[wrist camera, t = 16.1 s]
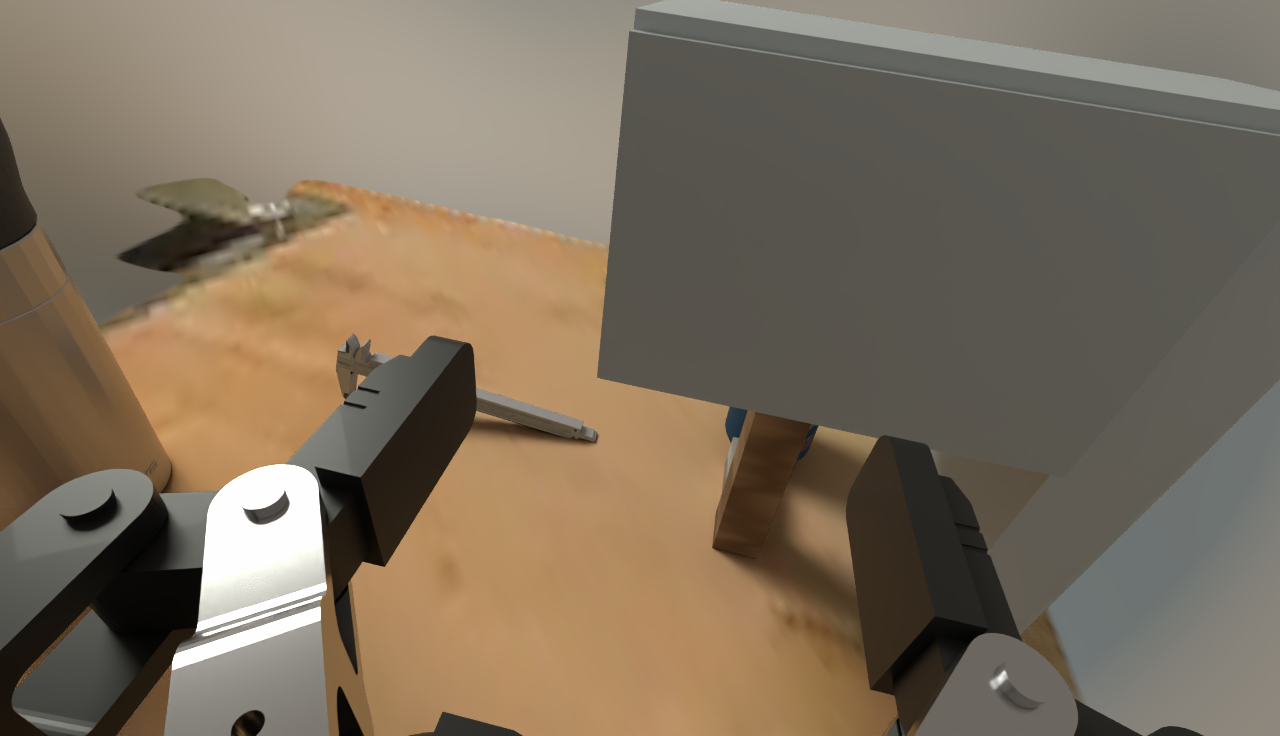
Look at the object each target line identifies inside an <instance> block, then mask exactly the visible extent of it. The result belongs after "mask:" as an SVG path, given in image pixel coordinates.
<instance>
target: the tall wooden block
mask: <svg viewBox="0 0 1280 736" xmlns="http://www.w3.org/2000/svg"><path fill="white" fill-rule="evenodd" d="M810 426H811V425H810V423H805V422H800V421H796V420H791V419H786V418H782V417H777V416H772V415H768V414H763V413H758V412H754V411H749V410H748V411H747V415H746V418H745V421H744V424H743V427H742V431H741V434H740V437H739V438H736V437H733V439H732V443H731V446H730V449H729V453H728V456H727V459H726V463H725V469H724V479H723V489H722V495H721V498H720V502H719V505H718V508H717V511H716V517H715V527H714V536H713V546H712V548H716V549H720V550H724V551H729V552H733V553H737V554H741V555H745V556H750V557H754V558H757V556H758V554H759V551H760V549H761V546H762V544H763V541H764V539H765V536H766V534H767V532H768V529H769V527H770V524H771V522H772V519H773V517H774V514H775V512H776V509H777V507H778V505H779V502H780V500H781V497H782V495H783V492H784V490H785V487H786V485H787V482H788V480H789V478H790V475H791V473H792V470H793V468H794V465H795V463H796V460H797V458H798V455H799V453H800V451H801V448H802V446H803V443H804V441H805V438H806V436H807V433H808V431H809V428H810Z"/></svg>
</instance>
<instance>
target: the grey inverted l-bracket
mask: <svg viewBox="0 0 1280 736" xmlns="http://www.w3.org/2000/svg"><path fill="white" fill-rule="evenodd" d="M612 213H613V214H612V223H611V234H610V245H609V255H608V266H607V277H606V287H605V298H604V309H603V320H602V330H601V341H600V352H599V362H598V373H597V377H598V378H600V379H605V380H610V381H614V382H619V383H624V384H628V385H633V386H638V387H642V388H647V389H652V390H656V391H661V392H665V393H670V394H675V395H679V396H684V397H689V398H693V399H698V400H703V401H707V402H712V403H717V404H721V405H726V406H731V407H735V408H740V409H745V410H749V411H754V412H758V413H763V414H768V415H772V416H777V417H782V418H786V419H791V420H796V421H800V422H805V423H810V424H814V425H819V426H824V427H828V428H833V429H837V430H842V431H847V432H851V433H856V434H861V435H865V436H870V437H875V438H880V437H881V436H883V435H888V436H892V437H897V438H901V439H906V440H911V441H915V442H920V443H924V444H926V445H928V447H929V448H930V450H931V453H932V456H933V459H934V462H935V465H936V468H937V471H938V475H941V476H946V477H950V478H952V480H953V481H954V482H955V483H956V485H957V486H958V487H959V488H960V490H961V491H962V492H963V493H964V495H965V496H966V497H967V498H968V500H969V501H970V502H971V505H972V507H973V510H974V513H975V515H976V518H977V521H978V524H979V526H980V530H979V532H980V533H982V534H983V537H984V540H985V543H986V545H987V548H988V551H987V554H988V555H990V556H991V559H992V562H993V564H994V567H995V570H996V572H997V575H998V578H999V581H1000V583H1001V586H1002V589H1003V591H1004V594H1005V597H1006V599H1007V602H1008V605H1009V608H1010V610H1011V613H1012V616H1013V618H1014V621H1015V624H1016V627H1017V629H1018V632H1019V635H1021V634H1022V633H1023V632H1024V631H1025V630H1026V629H1027V628H1028V627H1029V626H1030V625H1031V624H1032V623H1033V622H1034V621H1035V620H1036V619H1037V618H1038V617H1039V616H1040V615H1041V614H1042V613H1043V612H1044V611H1045V610H1046V609H1047V608H1048V607H1049V606H1050V605H1051V604H1052V603H1053V602H1054V601H1055V600H1056V599H1057V598H1058V597H1059V596H1060V595H1061V594H1062V593H1063V592H1064V591H1065V590H1066V589H1067V588H1068V587H1069V586H1070V585H1071V584H1072V583H1073V582H1074V581H1075V580H1076V579H1077V578H1079V576H1081V575H1082V574H1083V573H1084V571H1086V570H1087V569H1088V568H1089V567H1090V566H1091V565H1092V564H1093V563H1094V562H1095V561H1096V560H1097V559H1098V558H1099V557H1100V556H1101V555H1102V554H1103V553H1104V552H1105V551H1106V550H1107V549H1108V548H1109V547H1110V546H1111V545H1112V544H1113V543H1114V542H1115V541H1116V540H1117V539H1118V538H1119V537H1120V536H1121V535H1122V534H1123V533H1124V532H1125V531H1126V530H1127V529H1128V528H1129V527H1130V526H1131V525H1132V524H1133V523H1134V522H1135V521H1136V520H1137V519H1138V518H1140V517H1141V516H1142V514H1144V513H1145V512H1146V511H1147V510H1148V509H1149V508H1150V507H1151V506H1152V505H1153V504H1154V503H1155V502H1156V501H1157V500H1158V499H1159V498H1160V497H1161V496H1162V495H1163V494H1164V493H1165V492H1166V491H1167V490H1168V489H1169V488H1170V487H1171V486H1172V485H1173V484H1174V483H1175V482H1176V481H1177V480H1178V479H1179V478H1180V477H1181V476H1182V475H1183V474H1184V473H1185V472H1186V471H1187V470H1188V469H1189V468H1190V467H1191V466H1192V465H1193V464H1194V463H1195V462H1196V461H1197V460H1198V459H1199V458H1200V457H1201V456H1203V455H1204V453H1206V452H1207V451H1208V450H1209V449H1210V448H1211V447H1212V446H1213V445H1214V444H1215V443H1216V441H1218V440H1219V439H1220V438H1221V437H1222V436H1223V435H1224V434H1225V433H1226V432H1227V431H1228V430H1229V429H1230V428H1231V427H1232V426H1233V425H1234V424H1235V423H1236V422H1237V421H1238V420H1239V419H1240V418H1241V417H1242V416H1243V415H1244V414H1245V413H1246V412H1247V411H1248V410H1249V409H1250V408H1251V407H1252V406H1253V405H1254V404H1255V403H1256V402H1257V401H1258V400H1259V399H1260V398H1261V397H1262V396H1264V395H1265V394H1266V393H1267V392H1268V391H1269V390H1270V389H1271V388H1272V387H1273V386H1274V384H1276V383H1277V382H1278V381H1279V380H1280V92H1279V91H1274V90H1270V89H1265V88H1262V87H1257V86H1253V85H1249V84H1244V83H1240V82H1236V81H1232V80H1227V79H1223V78H1216V77H1210V76H1204V75H1197V74H1191V73H1184V72H1178V71H1172V70H1165V69H1159V68H1152V67H1146V66H1139V65H1133V64H1126V63H1120V62H1113V61H1107V60H1100V59H1094V58H1087V57H1080V56H1075V55H1068V54H1062V53H1055V52H1049V51H1042V50H1036V49H1029V48H1022V47H1016V46H1010V45H1003V44H997V43H990V42H984V41H977V40H971V39H965V38H958V37H951V36H945V35H939V34H932V33H926V32H919V31H913V30H906V29H899V28H893V27H887V26H881V25H874V24H868V23H861V22H854V21H848V20H842V19H835V18H828V17H822V16H815V15H808V14H803V13H796V12H789V11H784V10H777V9H770V8H763V7H757V6H751V5H744V4H738V3H732V2H725V1H719V0H665V1H662V2H658V3H654V4H650V5H646V6H643V7H639V8H636V12H635V22H634V29H633V30H631V31H629V42H628V52H627V63H626V73H625V84H624V95H623V105H622V116H621V127H620V137H619V148H618V159H617V170H616V181H615V192H614V202H613V212H612Z"/></svg>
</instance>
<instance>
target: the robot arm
mask: <svg viewBox="0 0 1280 736" xmlns="http://www.w3.org/2000/svg"><path fill="white" fill-rule="evenodd" d="M476 407H477V396H476V381H475V366H474V353H473V348H472V346H471V344H469V343H466V342H461V341H457V340H452V339H447V338H443V337H438V336H430V337H428V338H427V339H426V340H425V341H424V342H423V343H422V345H421V346H420V347H419V348H418V349H417V350H416V351H415V353H414V354H413V355H412V356H411V357H408V356H404V355H398V356H397V357H395V358H393V359H391V360H389V361H387V362H386V363H384V364H382V365H380V366H378V367H376V368H375V369H374V370H373V371H372V372H371V373H370V374H369V375H368V376H367V377H366V378H365V379H364V380H363V382H362V383H361V384H360V385H359V386H358V389H357V390H354V391H353V392H352V393H351V394H350V395H349V396H348V397H347V399H346V400H345V401H344V404H343V405H340V406H339V407H338V408H337V409H336V410H335V411H334V412H333V413H332V415H331V416H330V417H329V418H328V419H327V420H326V421H325V422H324V423H323V424H322V425H321V426H320V427H319V428H318V429H317V430H316V432H315V433H314V434H313V435H312V436H311V437H310V438H309V439H308V440H307V441H306V442H305V443H304V444H303V445H302V446H301V447H300V449H299V450H298V451H297V452H296V453H295V454H294V455H293V456H292V457H291V458H290V459H289V460H288V461H287V462H286V463H285V464H284V465H273V466H268V467H263V468H259V469H256V470H253V471H251V472H248V473H246V474H244V475H242V476H240V477H238V478H236V479H235V480H233V481H232V482H230V483H229V484H228V485H226V486H225V487H224V488H223V489H222V490H221V491H205V492H182V493H161V492H162V490H163V489H164V488H165V486H166V485H167V482H168V480H169V477H170V474H171V463H170V460H169V458H168V455H167V454H166V452H165V450H164V448H163V446H162V444H161V442H160V441H159V439H158V437H157V435H156V433H155V431H154V430H153V428H152V426H151V424H150V422H149V420H148V419H147V416H146V414H145V412H144V410H143V409H142V407H141V405H140V403H139V401H138V399H137V397H136V396H135V394H134V392H133V390H132V388H131V386H130V385H129V383H128V381H127V379H126V377H125V375H124V374H123V372H122V370H121V368H120V366H119V364H118V363H117V361H116V359H115V357H114V355H113V353H112V351H111V350H110V348H109V346H108V344H107V342H106V340H105V339H104V337H103V335H102V333H101V331H100V329H99V328H98V326H97V324H96V322H95V320H94V318H93V317H92V315H91V313H90V311H89V309H88V307H87V305H86V304H85V302H84V300H83V298H82V296H81V294H80V293H79V291H78V289H77V287H76V285H75V284H74V282H73V280H72V278H71V276H70V274H69V273H68V271H67V269H66V268H65V266H64V264H63V262H62V260H61V258H60V256H59V255H58V253H57V251H56V249H55V247H54V246H53V244H52V242H51V240H50V238H49V237H48V235H47V233H46V231H45V229H44V227H43V225H42V224H41V221H40V220H39V218H38V217H37V214H36V212H35V210H34V208H33V207H32V205H31V203H30V201H29V199H28V197H27V195H26V193H25V191H24V188H23V186H22V182H21V179H20V175H19V171H18V168H17V164H16V160H15V157H14V153H13V149H12V145H11V142H10V139H9V137H8V134H7V132H6V130H5V128H4V125H3V123H2V121H1V119H0V736H116V735H117V733H118V732H119V731H120V730H121V728H122V727H123V726H124V724H125V723H126V722H127V720H128V719H129V718H130V717H131V715H132V714H133V713H134V711H135V710H136V709H137V707H138V706H139V705H140V704H141V702H142V701H143V700H144V698H145V697H146V696H147V695H148V693H149V692H150V691H151V689H152V688H153V687H154V685H155V684H156V683H157V682H158V680H159V679H160V678H161V676H162V675H163V674H164V672H165V671H166V670H167V669H168V667H169V666H170V665H171V663H172V662H173V665H172V671H171V680H170V688H169V697H168V705H167V714H166V722H165V731H164V736H374V730H373V724H372V718H371V714H370V709H369V705H368V701H367V697H366V692H365V686H364V680H363V672H362V664H361V655H360V647H359V639H358V630H357V622H356V614H355V606H354V597H353V589H352V583H351V578H352V577H353V575H354V574H355V572H356V571H357V569H358V568H359V566H360V565H361V563H362V562H367V563H371V564H375V565H379V566H383V567H385V566H386V564H387V563H388V561H389V559H390V558H391V556H392V555H393V553H394V551H395V550H396V548H397V546H398V545H399V543H400V542H401V540H402V538H403V537H404V535H405V534H406V532H407V530H408V529H409V527H410V526H411V524H412V522H413V521H414V519H415V518H416V516H417V514H418V513H419V511H420V509H421V508H422V506H423V505H424V503H425V501H426V500H427V498H428V497H429V495H430V493H431V492H432V490H433V489H434V487H435V485H436V484H437V482H438V481H439V479H440V477H441V476H442V474H443V472H444V471H445V469H446V468H447V466H448V464H449V463H450V461H451V460H452V458H453V456H454V455H455V453H456V452H457V450H458V448H459V447H460V445H461V443H462V442H463V440H464V439H465V437H466V435H467V434H468V432H469V430H470V428H471V426H472V424H473V421H474V417H475V413H476ZM846 520H847V527H848V534H849V541H850V549H851V556H852V563H853V570H854V577H855V585H856V592H857V599H858V606H859V613H860V621H861V628H862V635H863V642H864V649H865V657H866V664H867V671H868V678H869V685H870V689H871V690H875V691H879V692H883V693H887V694H891V695H895V698H896V704H897V710H898V714H897V715H896V716H895V717H894V718H893V719H892V721H891V722H890V724H889V725H888V727H887V728H886V730H885V731H884V733H883V734H882V736H1142V735H1140V734H1138V733H1136V732H1134V731H1132V730H1131V729H1129V728H1127V727H1125V726H1123V725H1121V724H1120V723H1118V722H1116V721H1114V720H1112V719H1110V718H1108V717H1106V716H1105V715H1103V714H1101V713H1099V712H1097V711H1095V710H1093V709H1092V708H1090V707H1088V706H1086V705H1084V704H1082V703H1081V702H1079V701H1077V700H1076V699H1074V697H1073V694H1072V692H1071V690H1070V689H1069V687H1068V685H1067V683H1066V682H1065V680H1064V679H1063V677H1062V676H1061V675H1060V673H1059V672H1058V671H1057V670H1056V668H1055V667H1054V666H1053V665H1052V664H1051V663H1050V662H1049V661H1048V660H1047V659H1046V658H1045V657H1043V656H1042V655H1041V654H1040V653H1039V652H1037V651H1036V650H1035V649H1033V648H1032V647H1030V646H1029V645H1027V644H1025V643H1024V642H1022V639H1021V637H1020V635H1019V632H1018V629H1017V627H1016V624H1015V621H1014V618H1013V616H1012V613H1011V610H1010V608H1009V605H1008V602H1007V599H1006V597H1005V594H1004V591H1003V589H1002V586H1001V583H1000V581H999V578H998V575H997V572H996V570H995V567H994V564H993V562H992V559H991V556H990V555H988V554H987V551H988V548H987V545H986V543H985V540H984V537H983V534H982V533H980V532H979V530H980V526H979V524H978V521H977V518H976V515H975V513H974V510H973V507H972V505H971V502H970V501H969V500H968V498H967V497H966V496H965V495H964V493H963V492H962V491H961V490H960V488H959V487H958V486H957V485H956V483H955V482H954V481H953V480H952V478H950V477H946V476H941V475H938V471H937V468H936V465H935V462H934V459H933V456H932V453H931V450H930V448H929V447H928V445H926V444H924V443H920V442H915V441H911V440H906V439H901V438H897V437H892V436H888V435H883V436H881V437H880V438H879V439H878V441H877V442H876V444H875V446H874V447H873V449H872V451H871V453H870V455H869V457H868V458H867V460H866V462H865V464H864V466H863V467H862V469H861V471H860V473H859V475H858V476H857V478H856V480H855V482H854V484H853V486H852V488H851V490H850V493H849V496H848V501H847V508H846ZM88 606H89V607H90V608H91V609H92V610H91V611H90V612H89V613H88V614H87V615H86V616H85V617H84V618H83V619H82V620H81V621H80V622H79V623H78V624H77V625H76V626H75V627H74V629H73V630H72V631H71V632H70V633H69V634H68V635H67V636H66V637H65V638H64V639H63V640H62V641H61V642H60V643H59V644H58V645H57V646H56V647H55V648H54V650H53V651H52V652H51V653H50V654H49V655H48V656H47V657H46V658H45V659H44V660H43V661H42V662H41V663H40V664H39V665H38V666H37V667H36V668H35V670H34V671H33V672H32V673H31V674H30V675H29V676H28V677H27V678H26V679H25V680H24V681H23V682H22V683H21V684H20V685H19V686H18V687H17V688H16V689H15V687H16V685H17V683H18V681H19V680H20V678H21V677H22V675H23V674H24V673H25V671H26V670H27V669H28V668H29V667H30V666H31V665H32V664H33V663H34V662H35V661H36V660H37V659H38V657H39V656H40V655H41V654H42V653H43V652H44V651H45V650H46V649H47V648H48V647H49V646H50V645H51V644H52V643H53V642H54V641H55V640H56V639H57V638H58V637H59V636H60V635H61V634H62V633H63V632H64V630H65V629H66V628H67V627H68V626H69V625H70V624H71V623H72V622H73V621H74V620H75V619H76V618H77V617H78V616H79V615H80V614H81V613H82V612H83V611H84V610H85V609H86V608H87V607H88ZM195 632H196V634H195V636H194V637H193V638H191V637H192V636H193V635H194V633H195ZM14 689H15V691H14ZM410 736H522V735H521V734H519V733H517V732H516V731H514V730H510V729H507V728H503V727H499V726H495V725H491V724H488V723H484V722H480V721H476V720H472V719H469V718H465V717H461V716H457V715H453V714H450V713H446V712H442V714H441V717H440V719H439V721H438V724H437V726H436V729H435V731H434V732H426V733H420V734H415V735H410ZM1148 736H1203V735H1200V734H1199V733H1197V732H1194V731H1191V730H1189V729H1186V728H1181V727H1175V726H1168V727H1163V728H1160V729H1159V730H1157V731H1155V732H1153V733H1151V734H1150V735H1148Z"/></svg>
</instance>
